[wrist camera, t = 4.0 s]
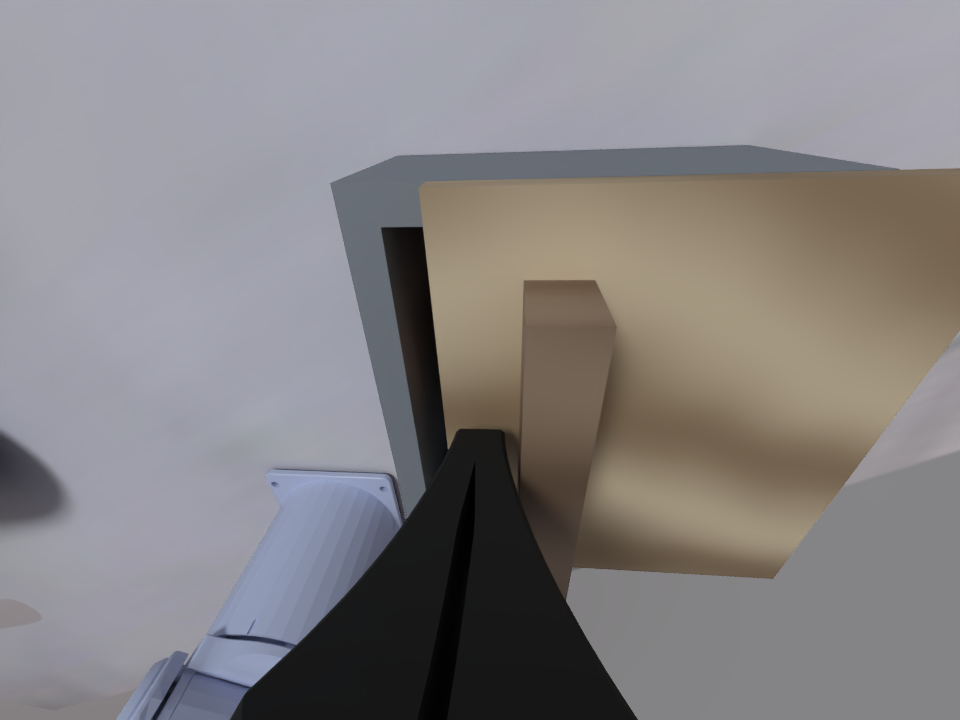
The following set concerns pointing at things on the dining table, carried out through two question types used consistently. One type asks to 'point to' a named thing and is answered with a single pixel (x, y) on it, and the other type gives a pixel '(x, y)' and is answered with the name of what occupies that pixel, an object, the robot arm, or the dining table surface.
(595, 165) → the box
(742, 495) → the lid
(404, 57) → the dining table surface
